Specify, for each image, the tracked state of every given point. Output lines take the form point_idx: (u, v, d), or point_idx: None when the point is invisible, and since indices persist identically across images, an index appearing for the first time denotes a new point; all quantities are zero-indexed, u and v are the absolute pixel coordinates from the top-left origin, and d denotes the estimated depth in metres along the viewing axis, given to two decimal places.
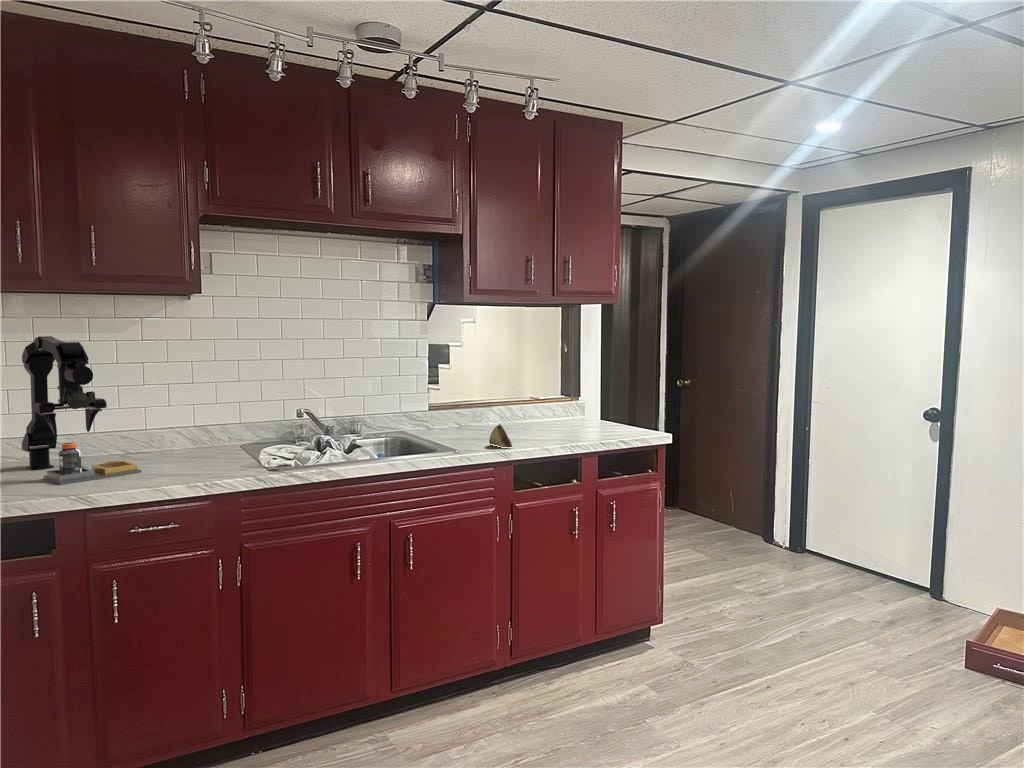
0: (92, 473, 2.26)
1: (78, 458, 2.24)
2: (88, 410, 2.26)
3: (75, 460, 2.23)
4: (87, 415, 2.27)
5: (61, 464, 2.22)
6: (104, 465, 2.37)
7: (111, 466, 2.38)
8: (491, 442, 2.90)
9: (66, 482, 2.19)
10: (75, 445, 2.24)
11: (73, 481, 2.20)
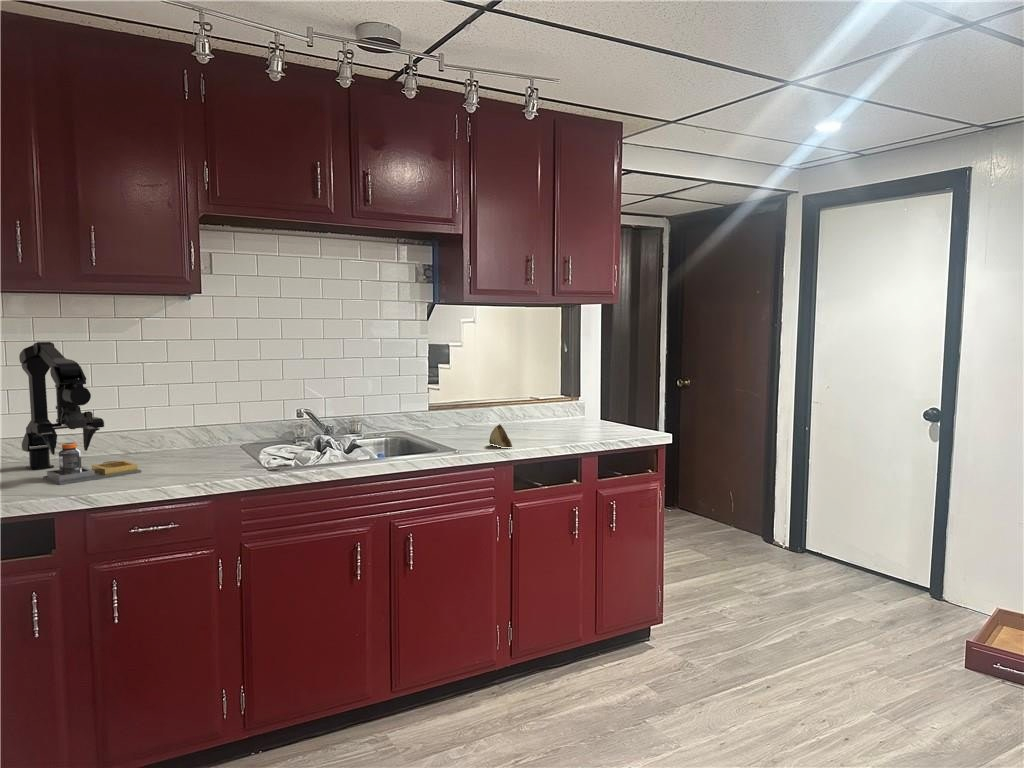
0: (92, 473, 2.26)
1: (78, 458, 2.24)
2: (86, 429, 2.28)
3: (75, 460, 2.23)
4: (85, 434, 2.29)
5: (61, 464, 2.22)
6: (104, 465, 2.37)
7: (111, 466, 2.38)
8: (491, 442, 2.90)
9: (66, 482, 2.19)
10: (75, 445, 2.24)
11: (73, 481, 2.20)
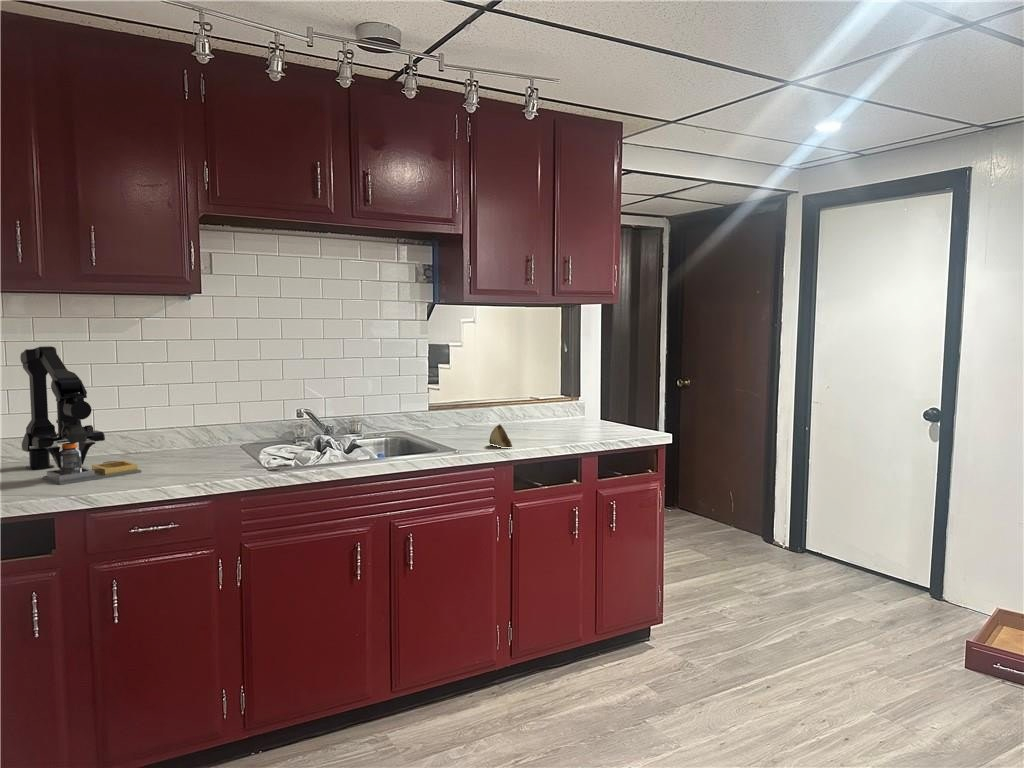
0: (92, 473, 2.26)
1: (78, 458, 2.24)
2: (81, 443, 2.28)
3: (75, 460, 2.23)
4: (80, 448, 2.28)
5: (61, 464, 2.22)
6: (104, 465, 2.37)
7: (111, 466, 2.38)
8: (491, 442, 2.90)
9: (66, 482, 2.19)
10: (75, 445, 2.24)
11: (73, 481, 2.20)
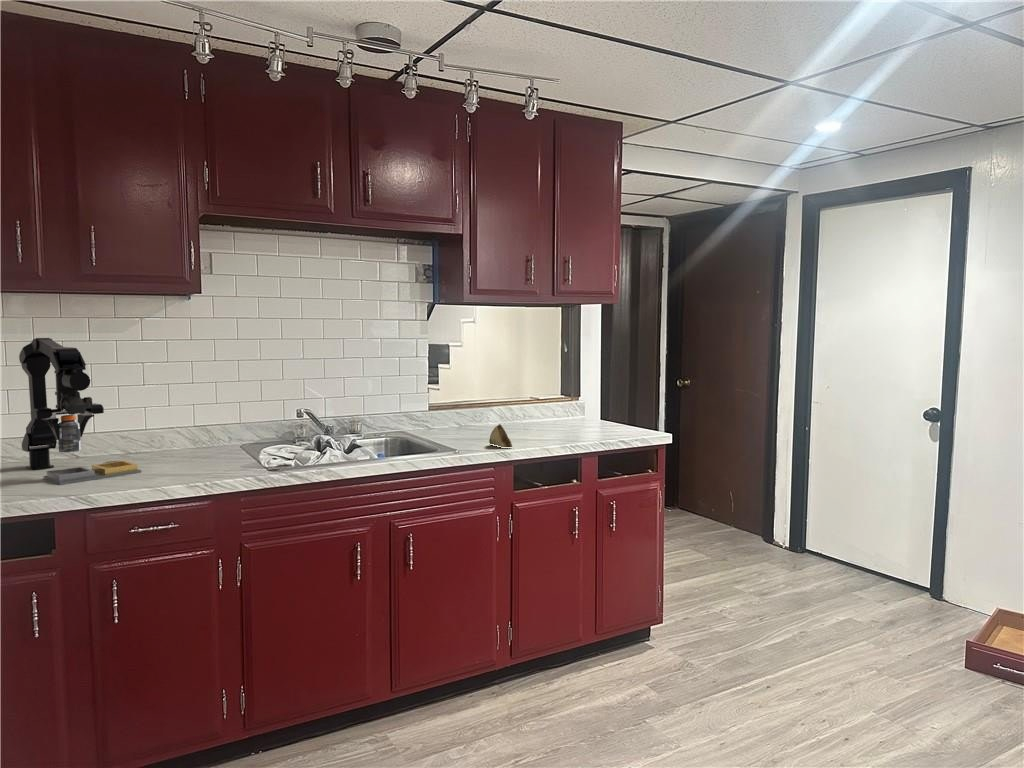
0: (92, 473, 2.26)
1: (77, 431, 2.24)
2: (80, 416, 2.27)
3: (74, 432, 2.23)
4: (79, 421, 2.27)
5: (60, 436, 2.21)
6: (104, 465, 2.37)
7: (111, 466, 2.38)
8: (491, 442, 2.90)
9: (66, 482, 2.19)
10: (74, 417, 2.24)
11: (73, 481, 2.20)
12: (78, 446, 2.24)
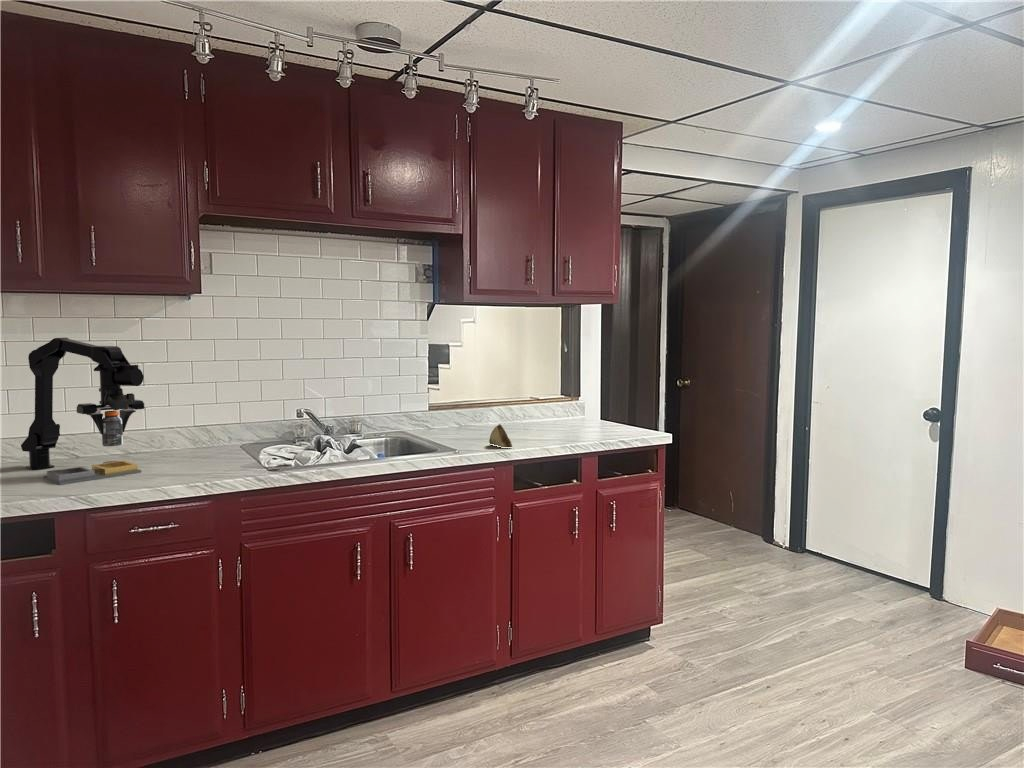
0: (92, 473, 2.26)
1: (120, 426, 2.33)
2: (122, 411, 2.37)
3: (117, 427, 2.32)
4: (121, 416, 2.37)
5: (104, 430, 2.31)
6: (104, 465, 2.37)
7: (111, 466, 2.38)
8: (491, 442, 2.90)
9: (66, 482, 2.19)
10: (117, 413, 2.33)
11: (73, 481, 2.20)
12: (121, 440, 2.34)
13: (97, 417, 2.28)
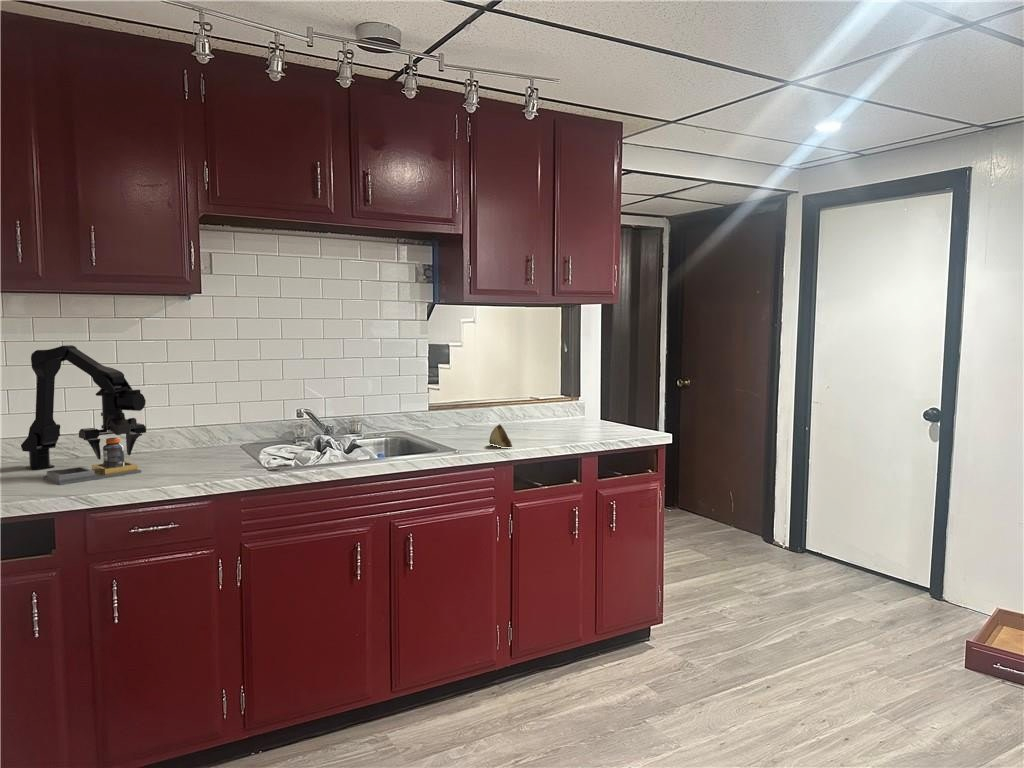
0: (92, 473, 2.26)
1: (121, 453, 2.35)
2: (129, 435, 2.39)
3: (119, 454, 2.33)
4: (128, 440, 2.39)
5: (105, 458, 2.32)
6: None
7: None
8: (491, 442, 2.90)
9: (66, 482, 2.19)
10: (118, 440, 2.34)
11: (73, 481, 2.20)
12: None
13: (94, 442, 2.28)
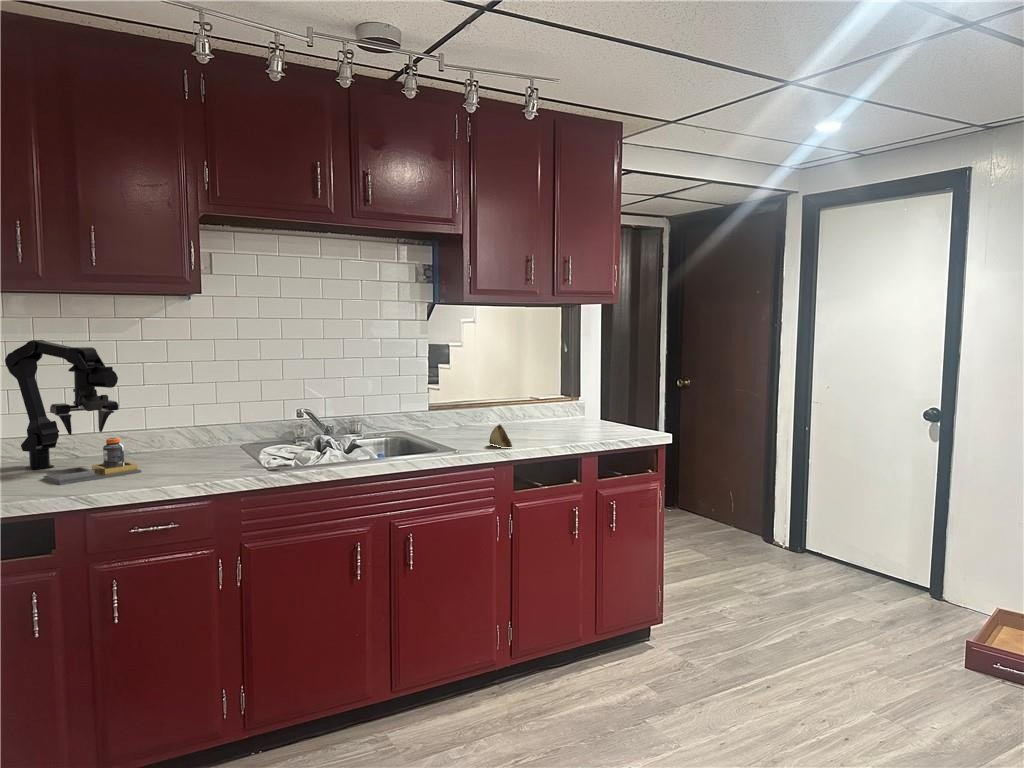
0: (92, 473, 2.26)
1: (122, 453, 2.35)
2: (101, 412, 2.40)
3: (119, 454, 2.33)
4: (100, 416, 2.40)
5: (105, 458, 2.32)
6: None
7: None
8: (491, 442, 2.90)
9: (66, 482, 2.19)
10: (118, 440, 2.34)
11: (73, 481, 2.20)
12: None
13: (65, 418, 2.29)
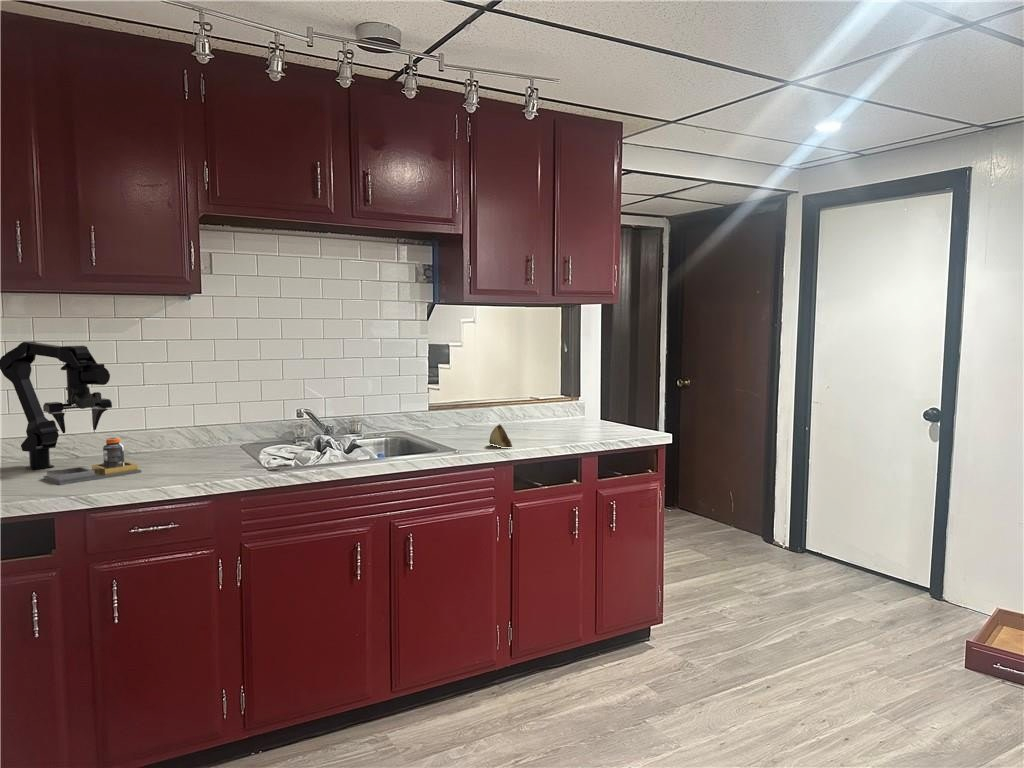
0: (92, 473, 2.26)
1: (122, 453, 2.35)
2: (94, 410, 2.40)
3: (119, 454, 2.33)
4: (93, 414, 2.40)
5: (105, 458, 2.32)
6: None
7: None
8: (491, 442, 2.90)
9: (66, 482, 2.19)
10: (119, 440, 2.34)
11: (73, 481, 2.20)
12: None
13: (58, 416, 2.30)
